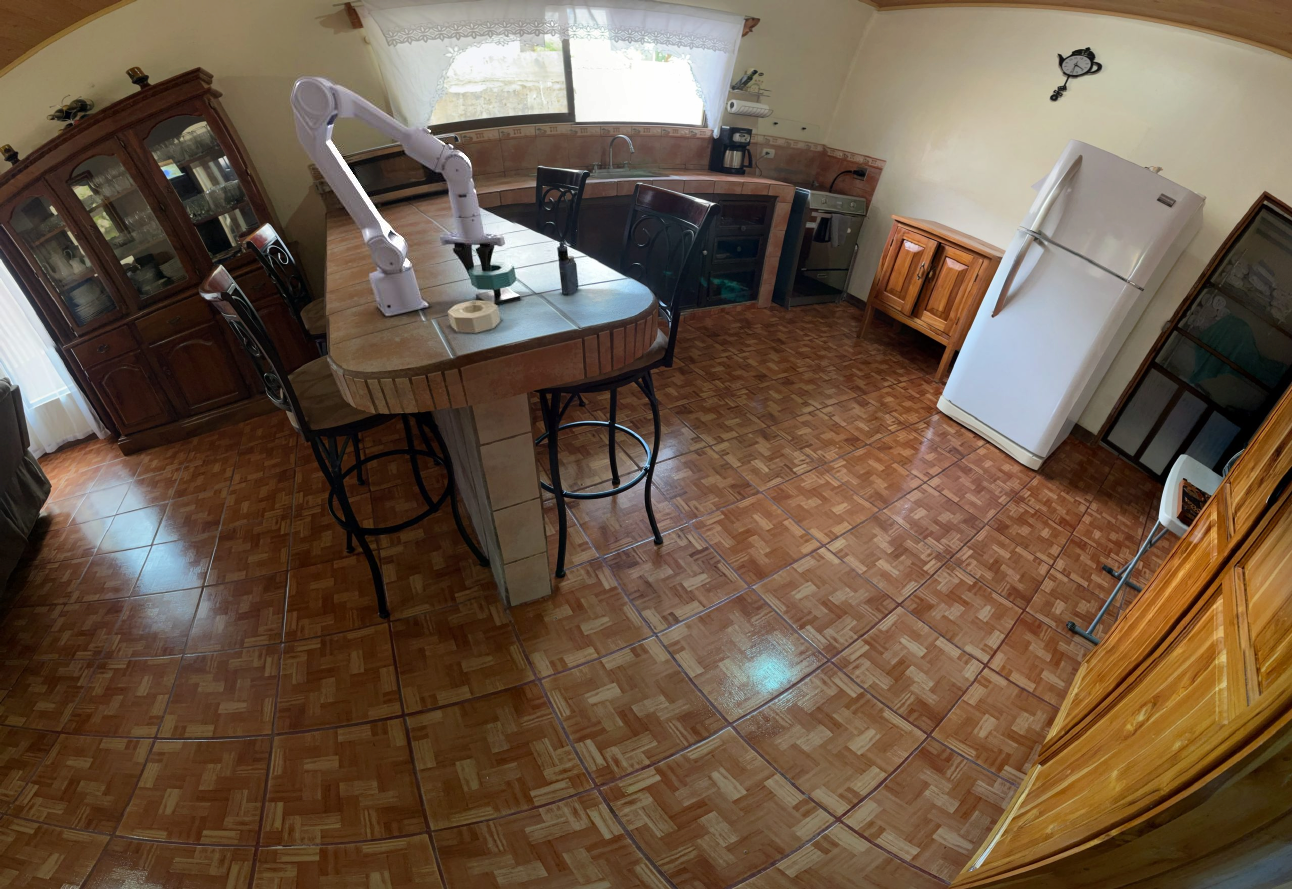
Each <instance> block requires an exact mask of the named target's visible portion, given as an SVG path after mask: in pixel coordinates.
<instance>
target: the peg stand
mask: <svg viewBox="0 0 1292 889" xmlns="http://www.w3.org/2000/svg"><path fill="white" fill-rule="evenodd" d="M475 298H476V299H477V300H478V301H491V302H492V303H494V304H495V305H496V306H497V307H498V306H502V305H505V304H510V303H513V302H517V301H521V295H520V294H518V293H516V292H514V291H513V290H511V288H509V287H505V288H501V289H497V290H486V291H483V292H478V293H475Z"/></svg>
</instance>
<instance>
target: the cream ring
mask: <svg viewBox="0 0 1292 889" xmlns="http://www.w3.org/2000/svg"><path fill="white" fill-rule="evenodd" d="M447 315H448V319H449V322H450V326H451V328H452V329H454V330H455V331H456V332H457V333H463V334H479V333H480V332H484V331H489V330H493V329H494V328H496V326H497V325H498V324H499V323H500V322H501V318H500V312H499V307H498V306H496V305H495V304H494V303H492V302H491V301H480V300H478V299H477V300H475V299H474V300H469V301H464V302H460V303H456V304H454V305H453V306H452V307H451V308H450V309H448V310H447Z"/></svg>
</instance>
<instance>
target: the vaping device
mask: <svg viewBox="0 0 1292 889" xmlns="http://www.w3.org/2000/svg"><path fill="white" fill-rule="evenodd" d="M556 250H557V258H558V259H557V260H558V268H559V269H558V270H559V277H560V286H561V287H560V288H561V295H564V296H570V295H573V294H575V293H576V292H578V291H579V276H578V268H577V267H578V266H577V263H576V260H575V256H573V255H569V252H568V246H567V245H565V242H563V241H562V242H559V246H557V247H556Z"/></svg>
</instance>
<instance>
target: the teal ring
mask: <svg viewBox="0 0 1292 889" xmlns="http://www.w3.org/2000/svg"><path fill="white" fill-rule="evenodd" d="M469 275H470V277H469V280H470V284H471V286H472V287H474V288H475V289H477V290H481V291H482V290H483V291H491V290H497V289H501V288H505V287H507V288H509V287H512V285H513V284H515V283H516V282H517V276H516V270H515V265H513V264H511V263H509V262H507V261H491V265H490V272H489V271H482V266H481V263H480V264H474V267H473V268H471V269H470V270H469ZM469 275H468V276H469Z"/></svg>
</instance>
